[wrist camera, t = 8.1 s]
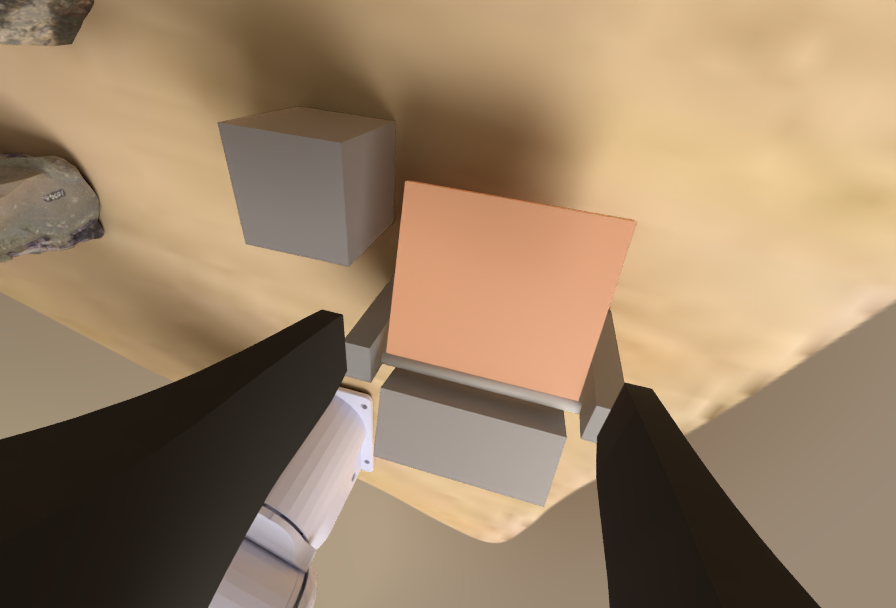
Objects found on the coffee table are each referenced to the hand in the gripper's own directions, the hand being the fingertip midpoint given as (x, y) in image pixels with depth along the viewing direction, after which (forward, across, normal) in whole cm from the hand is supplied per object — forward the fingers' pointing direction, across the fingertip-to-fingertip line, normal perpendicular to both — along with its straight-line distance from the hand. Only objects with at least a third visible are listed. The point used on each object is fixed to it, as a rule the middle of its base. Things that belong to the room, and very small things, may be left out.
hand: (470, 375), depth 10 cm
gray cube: (+10, +8, -2) cm, 14 cm away
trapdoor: (+6, 0, +3) cm, 7 cm away
